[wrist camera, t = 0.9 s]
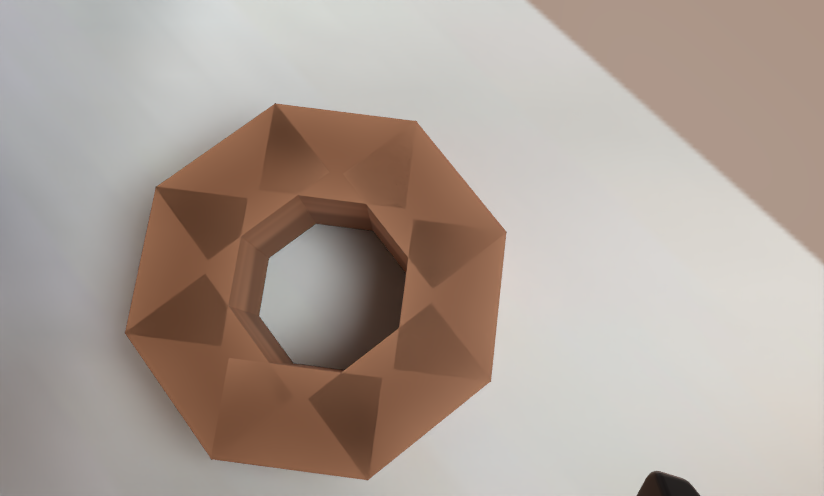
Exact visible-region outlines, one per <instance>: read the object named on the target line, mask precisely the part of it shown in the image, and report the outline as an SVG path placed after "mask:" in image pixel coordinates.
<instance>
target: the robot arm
mask: <svg viewBox="0 0 824 496" xmlns="http://www.w3.org/2000/svg"><path fill="white" fill-rule="evenodd" d="M637 496H700V495H699V493H698V492H697V491H696V490H695V488H694V487H693V486H692V485H691V484H690V483H689V482H688V481H687V480H685V479H683V478H680V477H677V476H674V475H670V474H667V473H664V472H661V471H654V472H651V473H650V474H649V475H648V476H647V478H646V479H645V481H644V483H643V485H642V487H641V489H640V490H639V492H638V494H637Z"/></svg>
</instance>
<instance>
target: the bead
mask: <svg viewBox="0 0 824 496" xmlns="http://www.w3.org/2000/svg"><path fill="white" fill-rule="evenodd" d="M155 188H156V189H155V194H154V198H153V203H152V208H151V213H150V217H149V222H148V227H147V232H146V236H145V241H144V246H143V250H142V255H141V260H140V265H139V269H138V274H137V279H136V284H135V288H134V293H133V298H132V303H131V307H130V312H129V317H128V321H127V326H126V331H125V334H126V335H127V337H128V338H129V340H130V341H131V343H132V344H133V345H134V347H135V348H136V350H137V351H138V353H139V354H140V356H141V357H142V359H143V360H144V362H145V363H146V364H147V366H148V367H149V369H150V370H151V372H152V373H153V375H154V376H155V378H156V379H157V381H158V382H159V383H160V385H161V386H162V388H163V389H164V391H165V392H166V394H167V395H168V397H169V398H170V399H171V401H172V402H173V404H174V405H175V407H176V408H177V410H178V411H179V413H180V414H181V416H182V417H183V418H184V420H185V421H186V423H187V424H188V426H189V427H190V429H191V430H192V432H193V433H194V434H195V436H196V437H197V439H198V440H199V442H200V443H201V445H202V446H203V448H204V449H205V451H206V452H207V453H208V455H209V456H210V458H211V459H214V460H222V461H229V462H237V463H244V464H252V465H259V466H267V467H274V468H281V469H289V470H296V471H304V472H311V473H319V474H326V475H334V476H341V477H349V478H356V479H364V480H369V479H370V478H371V477H372V476H373V475H375V474H376V473H377V472H378V471H380V470H381V469H382V468H383V467H385V466H386V465H387V464H388V463H390V462H391V461H392V460H393V459H395V458H396V457H397V456H398V455H400V454H401V453H402V452H403V451H405V450H406V449H407V448H408V447H410V446H411V445H412V444H413V443H414V442H416V441H417V440H418V439H419V438H421V437H422V436H423V435H424V434H426V433H427V432H428V431H429V430H431V429H432V428H433V427H434V426H436V425H437V424H438V423H439V422H441V421H442V420H443V419H444V418H446V417H447V416H448V415H449V414H451V413H452V412H453V411H454V410H456V409H457V408H458V407H459V406H461V405H462V404H463V403H464V402H465V401H467V400H468V399H469V398H470V397H472V396H473V395H474V394H475V393H477V392H478V391H479V390H480V389H482V388H483V387H484V386H485V385H487V384H488V383H489V382H491V375H492V365H493V355H494V346H495V336H496V326H497V317H498V307H499V297H500V288H501V278H502V268H503V259H504V249H505V239H506V233H507V232H506V231H505V230H504V228H503V227H502V226H501V225H500V223H499V222H498V221H497V220H496V219H495V217H494V216H493V215H492V214H491V212H490V211H489V210H488V209H487V208H486V206H485V205H484V204H483V203H482V201H481V200H480V199H479V198H478V196H477V195H476V194H475V193H474V192H473V190H472V189H471V188H470V187H469V185H468V184H467V183H466V182H465V181H464V179H463V178H462V177H461V176H460V174H459V173H458V172H457V171H456V170H455V168H454V167H453V166H452V165H451V163H450V162H449V161H448V160H447V158H446V157H445V156H444V155H443V154H442V152H441V151H440V150H439V149H438V147H437V146H436V145H435V144H434V143H433V141H432V140H431V139H430V138H429V136H428V135H427V134H426V133H425V131H424V130H423V129H422V128H421V127H420V125H419V124H418V123H417V121H410V120H402V119H394V118H386V117H378V116H370V115H362V114H354V113H346V112H338V111H330V110H322V109H314V108H306V107H298V106H290V105H282V104H276V103H275V104H274V105H273V106H271V107H270V108H268V109H267V110H265V111H264V112H263V113H261V114H260V115H258V116H257V117H255V118H254V119H253V120H251V121H250V122H248V123H247V124H245V125H244V126H243V127H241V128H240V129H238V130H237V131H235V132H234V133H233V134H231V135H230V136H228V137H227V138H225V139H224V140H223V141H221V142H220V143H218V144H217V145H215V146H214V147H213V148H211V149H210V150H208V151H207V152H205V153H204V154H203V155H201V156H200V157H198V158H197V159H195V160H194V161H193V162H191V163H190V164H188V165H187V166H185V167H184V168H183V169H181V170H180V171H178V172H177V173H175V174H174V175H173V176H171V177H170V178H168V179H167V180H165V181H164V182H163V183H161V184H160V185H158V186H157V187H155ZM315 224H324V225H332V226H339V227H347V228H355V229H363V230H371V231H373V232H374V233H375V234H376V235H377V237H378V238H379V239H380V241H381V242H382V243H383V244H384V246H385V247H386V248H387V250H388V251H389V252H390V253H391V255H392V256H393V257H394V259H395V260H396V261H397V262H398V264H399V265H400V266H401V268H402V269H403V270H404V271H405V273H406V279H405V287H404V295H403V302H402V310H401V317H400V325H399V328H398V329H397V330H396V331H395V332H393V333H392V334H391V335H389V336H388V337H387V338H385V339H384V340H383V341H382V342H380V343H379V344H378V345H376V346H375V347H374V348H373V349H371V350H370V351H369V352H367V353H366V354H365V355H364V356H362V357H361V358H360V359H358V360H357V361H356V362H354V363H353V364H352V365H351V366H349V367H348V368H347V369H345V370H339V369H332V368H324V367H317V366H309V365H301V364H294V363H293V362H292V361H291V359H290V358H289V357H288V355H287V354H286V353H285V351H284V350H283V348H282V347H281V346H280V344H279V343H278V342H277V340H276V339H275V337H274V336H273V335H272V333H271V332H270V331H269V329H268V328H267V326H266V325H265V324H264V322H263V321H262V320H261V318H260V317H259V312H260V306H261V301H262V295H263V289H264V283H265V278H266V272H267V266H268V260H269V258H270V257H271V256H272V255H274V254H275V253H276V252H278V251H279V250H281V249H282V248H283V247H285V246H286V245H287V244H289V243H290V242H291V241H293V240H294V239H296V238H297V237H298V236H300V235H301V234H302V233H304V232H305V231H306V230H308V229H309V228H310V227H312V226H313V225H315Z"/></svg>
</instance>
